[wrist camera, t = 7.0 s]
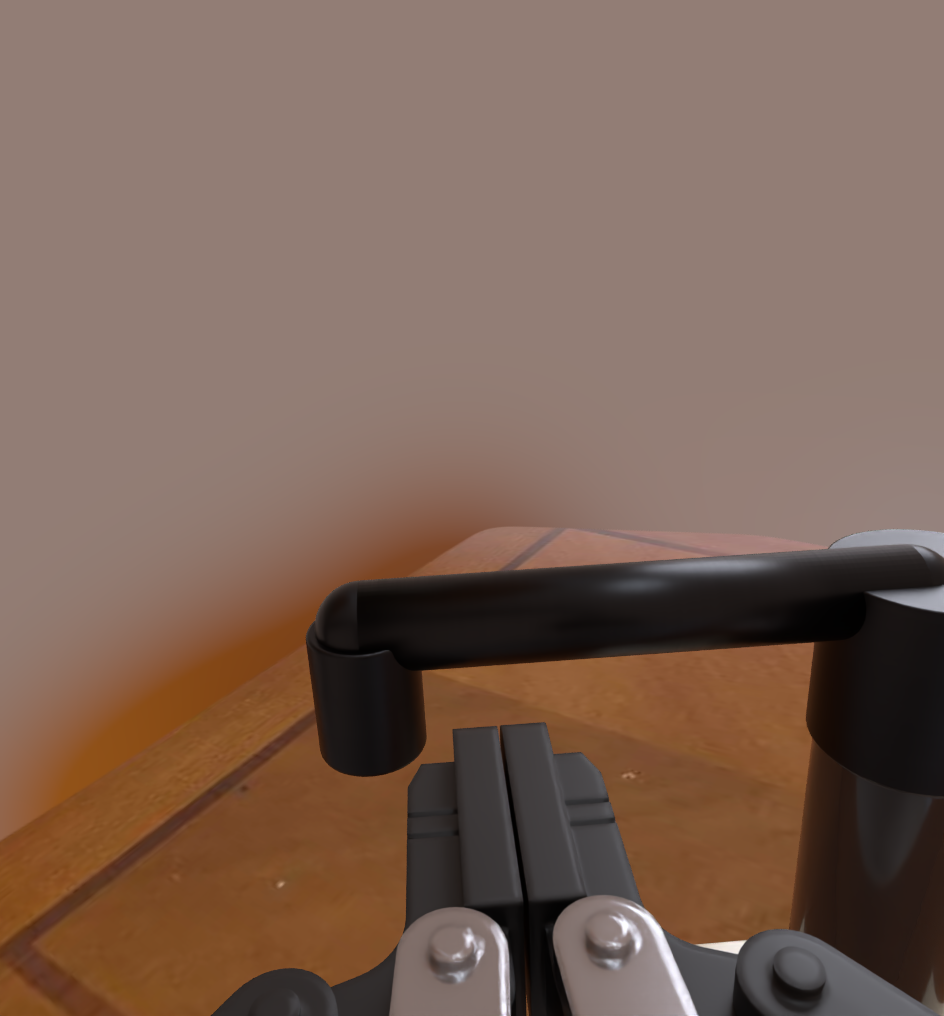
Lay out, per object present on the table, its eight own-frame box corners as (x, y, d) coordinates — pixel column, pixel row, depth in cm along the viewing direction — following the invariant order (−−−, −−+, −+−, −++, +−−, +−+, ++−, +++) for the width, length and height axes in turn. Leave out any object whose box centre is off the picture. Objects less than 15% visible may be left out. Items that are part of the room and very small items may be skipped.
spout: (941, 678, 22) (972, 503, 20) (1060, 789, 18) (1112, 584, 16) (333, 723, 21) (312, 547, 20) (314, 850, 17) (285, 641, 16)
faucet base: (943, 962, 31) (1020, 602, 26) (1237, 1392, 20) (1479, 918, 15) (570, 995, 31) (569, 634, 25) (659, 1459, 20) (691, 988, 14)
